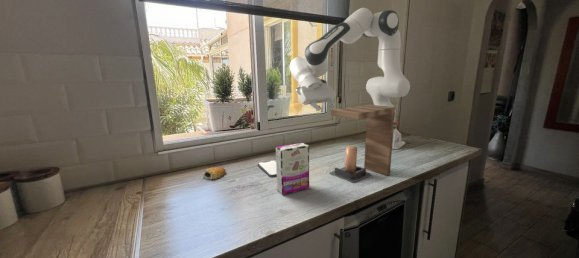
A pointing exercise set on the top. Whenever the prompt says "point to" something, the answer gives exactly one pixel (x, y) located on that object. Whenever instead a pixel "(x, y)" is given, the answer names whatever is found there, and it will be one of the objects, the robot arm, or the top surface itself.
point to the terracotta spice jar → (350, 159)
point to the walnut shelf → (374, 134)
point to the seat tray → (350, 174)
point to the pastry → (214, 173)
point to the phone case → (268, 168)
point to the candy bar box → (292, 168)
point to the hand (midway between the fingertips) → (326, 108)
